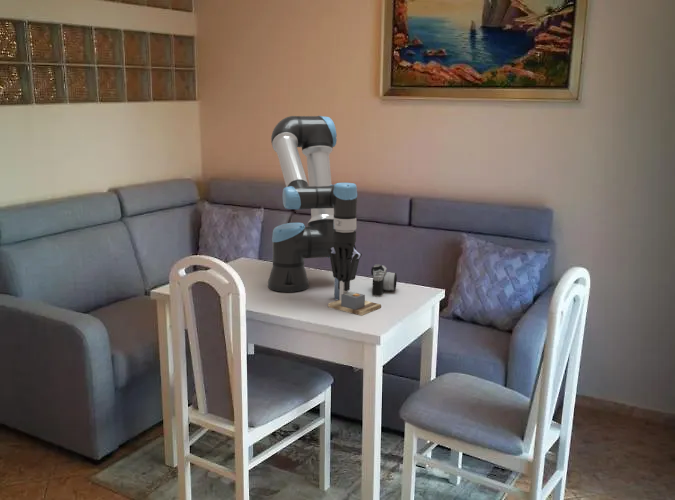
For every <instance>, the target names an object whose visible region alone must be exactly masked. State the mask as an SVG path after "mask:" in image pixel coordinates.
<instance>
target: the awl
mask: <svg viewBox="0 0 675 500" xmlns="http://www.w3.org/2000/svg"><path fill="white" fill-rule="evenodd" d="M336 274H337V273H336ZM333 287H334V292H333V293H334V294H333V299H334V300H335V301H337V300H340V289H338V279H337V278H334V286H333Z"/></svg>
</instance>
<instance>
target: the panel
mask: <svg viewBox="0 0 675 500" xmlns="http://www.w3.org/2000/svg"><path fill="white" fill-rule="evenodd" d="M327 307H328V308H332V309H335V310H338V311H341V312H347V313H350V314H354V315H358V316H364V315H366V314H369V313H371V312H374V311H376V310H379V309H381V308H382V304H381V303H376V302H372V301H367V300H365V306H364V307H362V308H359V309H356V310H354V309H350V308H346V307H342V306H341V300H334V301H331V302H328V306H327Z"/></svg>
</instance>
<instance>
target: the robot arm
mask: <svg viewBox="0 0 675 500" xmlns="http://www.w3.org/2000/svg"><path fill="white" fill-rule="evenodd" d="M337 139H338V138H337V129H336V125H335V123H334V120H332V118H331V117H329V116H323V115H307V116H306V115H290V116H287V117H284V118H283V119H281V120H280V121H279V122H278V123H277V124H276V125H275V126H274V128H273V129H272V133H271V138H270V140H271V141H270V142H271V145H272V149H273V151H274V152H275V153H276V155H277V158H278V162H279V166H280V169H281V173H282V177H283V180H284V184H285V187H284V188H283V189H282V196H281V197H282V204H283V207H284V209H286V210H295V211H296V210H308V209H309V210H310V216H311V218H310V219H309V220H308V222H307V226H305V224H304V223H303V222H287V223H282V224H280V225H277V226H275V227H274V228H273V230H272V236H271V237H272V238H271V242H272V267H271V270H270V274H269V278H268V280H267V287H268V288H269V289H270V290H272V291H276V292H283V293H293V292H294V293H295V292H300V291H304V290H307V289H309V288H310V280H309V278H308V274H307V272H306V268H305V259H318V258H319V259H320V258H321V259H322V258H329V259H330V265H331V266H330V267H331V270H332V271H331V272H332V277H333V278H334V279H335V278H337V279H338V289H340V300H341V295H342V294H345V293H348V292H349V291H350V287H351V281H353V280H355V279H356V277H357V271H358V267H359V263H360V259H361V257H362V256H363V254H362V252H358V251H357V247H356V242H357V231H356V230H357V213H358V212H357V204H358V187H357V184H356V183H352V182H337V183H334V184H332V173H331V172H332V171H331V162H330V154H331V153H332V152H333V151H334V150H333V148H334V147H336V145H337V141H338V140H337ZM298 148H301V153H302V154H303V155H304V156H305V157H306V165H307V166H306V167H307V176H306V172H305V169H304V166H303V163H302V159H301V156H300V152H299V150H298ZM307 178H308V179H307ZM336 273H337V274H336Z"/></svg>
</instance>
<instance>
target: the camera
mask: <svg viewBox="0 0 675 500" xmlns="http://www.w3.org/2000/svg"><path fill="white" fill-rule="evenodd" d="M370 270H371V271H370V273H371V276H372V277H373V278H372V290H371V291H372V292H371V293H372V297H373V298H381V297H382V296H383V295H384V291H396V289H397V282H398V281H397V279H398V278H397V276H398V275H397V273H396V272H391V271H388V269H387V267H386V265H383V264H381V263H378V264H373V266H371V269H370Z"/></svg>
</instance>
